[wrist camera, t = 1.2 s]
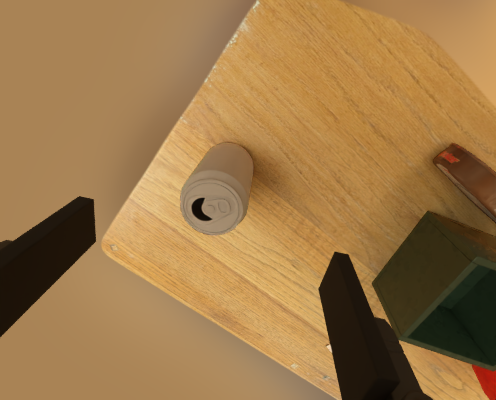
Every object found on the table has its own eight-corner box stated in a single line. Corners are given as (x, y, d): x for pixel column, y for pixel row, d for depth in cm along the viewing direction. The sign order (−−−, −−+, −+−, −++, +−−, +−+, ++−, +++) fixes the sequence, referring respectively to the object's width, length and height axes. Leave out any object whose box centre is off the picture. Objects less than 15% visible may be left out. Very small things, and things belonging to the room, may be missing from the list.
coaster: (349, 370, 51) (350, 374, 50) (325, 346, 48) (326, 350, 48) (390, 355, 48) (391, 359, 47) (367, 328, 46) (368, 332, 45)
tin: (513, 209, 35) (580, 249, 27) (489, 225, 36) (547, 268, 28) (439, 133, 31) (492, 155, 24) (416, 154, 33) (459, 180, 25)
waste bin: (427, 210, 36) (477, 256, 27) (516, 244, 37) (591, 298, 28) (371, 283, 42) (397, 339, 33) (449, 310, 43) (494, 372, 34)
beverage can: (197, 147, 34) (164, 184, 24) (247, 135, 33) (236, 168, 22) (213, 192, 37) (189, 244, 26) (259, 183, 36) (254, 233, 25)
